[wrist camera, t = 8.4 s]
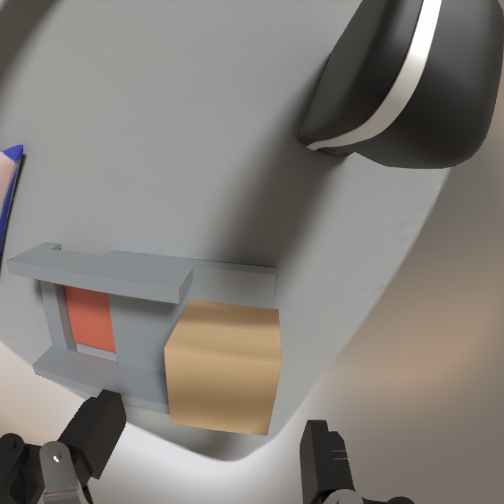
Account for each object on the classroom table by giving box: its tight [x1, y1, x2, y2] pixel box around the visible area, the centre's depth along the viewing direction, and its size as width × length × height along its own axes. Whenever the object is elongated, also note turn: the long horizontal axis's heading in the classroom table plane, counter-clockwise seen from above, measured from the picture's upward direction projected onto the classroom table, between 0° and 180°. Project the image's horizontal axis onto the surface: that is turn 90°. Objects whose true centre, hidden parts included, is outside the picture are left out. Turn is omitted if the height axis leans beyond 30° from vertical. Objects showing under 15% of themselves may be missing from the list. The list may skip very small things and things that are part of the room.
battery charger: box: [297, 0, 504, 169], centre depth 9 cm, size 7×4×11 cm, turn 158°
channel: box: [7, 243, 277, 414], centre depth 17 cm, size 9×16×4 cm, turn 85°
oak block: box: [164, 299, 282, 435], centre depth 15 cm, size 5×5×5 cm
